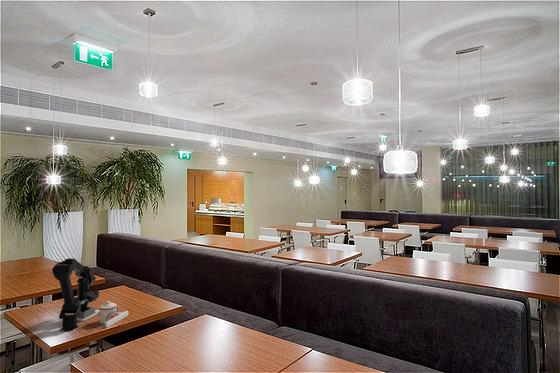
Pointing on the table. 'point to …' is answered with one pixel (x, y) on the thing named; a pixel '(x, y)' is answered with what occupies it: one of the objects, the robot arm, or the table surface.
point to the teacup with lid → (108, 311)
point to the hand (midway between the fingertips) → (83, 313)
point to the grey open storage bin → (91, 312)
